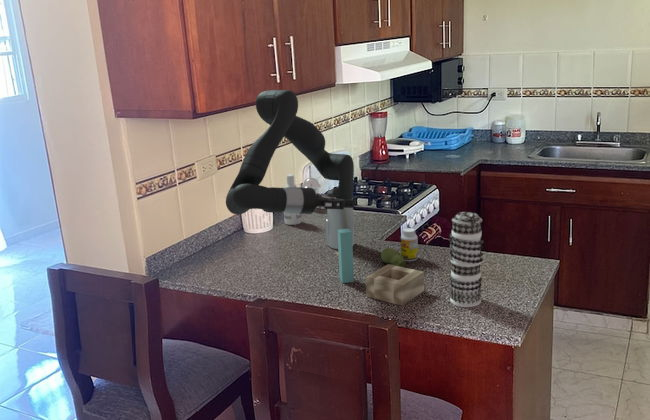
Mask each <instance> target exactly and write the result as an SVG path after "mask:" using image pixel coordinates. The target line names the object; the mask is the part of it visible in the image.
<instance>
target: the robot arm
mask: <svg viewBox="0 0 650 420" xmlns="http://www.w3.org/2000/svg"><path fill="white" fill-rule="evenodd" d="M255 109H256V112H257V114H258V116H259V117H260V118H261V120H262V121H264V122H265V123H267V124H268V125H269V127H267V129H266V130H265V131H264V132H263V134H261V135H260V136H259V137H258V138H257V139H256V140H255V141H254V142H253V143H252V144H251V146H249V148H248V150H247V151H246V154H245V155H244V158H243V160H242V162H241V165H240V168H239V171H238V174H237V175H236V177H235V179H234V181H233V183H232V185H231V186H230V189H229V190H228V192H227V194H226V197H225V206H226V208H227V210H228V211H229V212H230V213H232V214H234V215H238V216H239V215H243V214H245V213H246V212H248V211H249V210H253V209H255V210H256V209H257V210H262V211H263V212H266V213H273V214H274V213H275V214H276V213H277V214H279V213H280V214H282V213H283V214H284V213H288V214H301V215H303V214H304V215H312V214H313V213H314V212H315V211H316V209H315V208H316V207H317V208H318V209H321V210H326V214H327V215H326V216H327V219H325V220H324V221H325V222H324V223H325V241H326V243H325V245H326V246H328V247H329V248H332V249H335V250H338V230H340V229H350V230H351V231H352V244H353V247H354V246H355V227H354V208H355V205H356V204H355V203H356V200H354V197H353V195H354V194H353V193H354V186H355V185H354V177H355V175H354V174H355V164H354V159H353V158H352V156H351V154H350V155H349V154H347V153H345V154H344V153H331V152H328V151H327V150H326V149H325V148H326V137H325V136H324V134H323V133H322V132H321V130H319V128H318V127H317V126H316V125H315V124H314V123H312V122H311V121H309V120H307V119H304V118H302V117H300V116H298V115H297V113H298V109H299V100H298V97H297V95H296V93H295V92H294V91H293V90H289V89H270V90H265V91H261V92H260V93H258V95H257V96H256V99H255ZM283 138H285V139H287V140H288V142H290V143H291V145H293V146H294V147H295V148H296V149H297V150H298V151H299V152H300V153H301V154H302V155H303V156H305V157H306V159H307V160H308V161H309V162H310V163H311V164H312V165H314V167H315V168H316V171H318V173H319V174H320V175H321V176H322V177H323V178H324V179H325V180H329V181H338V186H337V187H335V188H330V189H329V190H327V191H326V193H323V192H322V193H316V192H315V190H314V189H313V188H304V187H302V186H301V187H300V186H299V187H298V186H296V187H286V186H285V187H286V188H285V187H273V186H272V187H267V186H264V185H261V183H262V181H264V178H265V176H266V173H267V170H268V168H269V166H270V162H271V161H272V158H273V156H274V154H275V152H276V151H277V148H278V146H279V145H280V143H281V142H282V140H283Z"/></svg>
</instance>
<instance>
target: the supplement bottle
mask: <svg viewBox="0 0 650 420" xmlns="http://www.w3.org/2000/svg"><path fill="white" fill-rule="evenodd" d="M418 237H419V236H418V235H417V234H416V230H415V228H410V227H409V228H404V229H403V230H402V234H401V235H400V256H402V257H403V258H404V261H405V262H408V263H409V262H416V261H417V260H418V258H419V257H418V256H419V255H418V253H419V248H418V247H419V245H418V244H419V243H418V242H419V241H418V240H419V238H418Z"/></svg>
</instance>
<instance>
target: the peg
mask: <svg viewBox="0 0 650 420" xmlns="http://www.w3.org/2000/svg"><path fill="white" fill-rule="evenodd" d="M353 247H354V246H353V244H352V231H351V230H350V229H340V230H338V249H337V251H338V270H339V271H338V272H339V273H338V274H339V275H338V276H339V280H340V283H342V284H347V283H354V282H355V279H354V276H355V275H354V272H355V271H354V252H353V251H354V250H353Z"/></svg>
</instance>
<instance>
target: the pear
mask: <svg viewBox="0 0 650 420" xmlns="http://www.w3.org/2000/svg"><path fill="white" fill-rule="evenodd" d="M380 259H381V261H382V262H383V263H384V264H386V265H388V264H390V265H395V266H399V267H404V268H406V264H407V261H404V258H403V257H402V256H401V252H399V251H398V250H397V249H395V248H393V247H385V248H383V249H382V251H381V252H380Z"/></svg>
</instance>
